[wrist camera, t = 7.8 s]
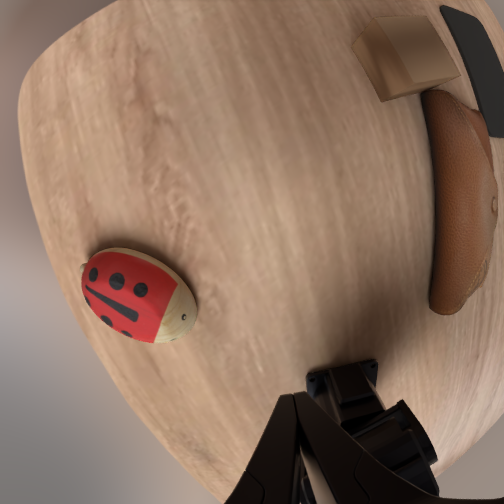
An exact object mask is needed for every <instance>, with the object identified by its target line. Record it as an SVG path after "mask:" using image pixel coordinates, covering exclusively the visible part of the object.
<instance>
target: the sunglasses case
mask: <svg viewBox="0 0 504 504" xmlns="http://www.w3.org/2000/svg"><path fill="white" fill-rule="evenodd" d="M421 95H422V98H421V100H422V105H423V110H424V114H425V120H426V124H427V129H428V134H429V140H430V145H431V152H432V160H433V167H434V174H435V200H436V239H435V258H434V271H433V279H432V288H431V296H430V309H431V310H432V311H434V312H435V313H437V314H440V315H452V314H454V313H456V312H458V311H459V310H460V309H461V308H462V306H463V305H464V303H465V302H466V300H467V298H468V297H470V296H471V295H472V294H473V293H474V292H475V291H476V290H477V289H478V287H479V288H480V287H482V284H483V282H484V281H485V278H486V275H487V272H488V268H489V262H490V257H491V251H492V243H493V234H494V229H495V227H496V224H497V217H498V189H497V183H496V180H495V177H494V168H493V160H492V152H491V145H490V141H489V136H488V131H487V126H486V123H485V120H484V118H483V116H482V114H481V113H480V112H479V111H477V110H475V109H469V108H468V107H466V106H465V105H463V104H462V103H460V102H459V101H458V100H457V99H456V98H455V97H454V96H453V95H452V94H450V93H449V92H447V91H443V90H429V91H424V92H423V93H421Z"/></svg>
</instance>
